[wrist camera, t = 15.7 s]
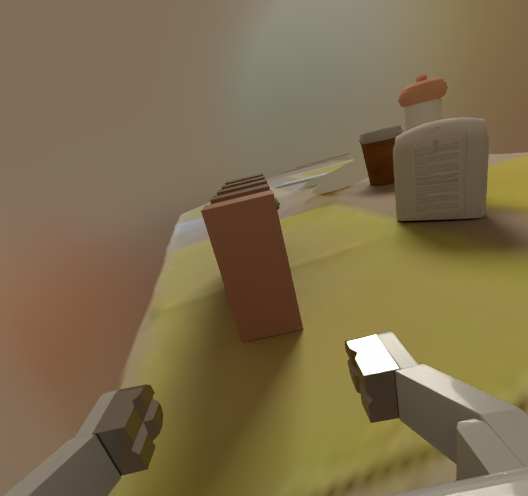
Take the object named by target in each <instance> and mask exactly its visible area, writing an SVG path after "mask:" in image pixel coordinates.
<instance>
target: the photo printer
mask: <svg viewBox="0 0 528 496" xmlns="http://www.w3.org/2000/svg"><path fill="white" fill-rule="evenodd" d="M488 155H489V135H488V129H487V127H486V126H485V120H484V119H479V118H450V119H443V120H437V121H433V122H429V123H426V124H423V125H420V126H417V127H415V128H412V129H410V130H408V131H406V132H404V133H402V134H400V135H398V136H397V137H396V138H395V145H394V148H393V164H394V181H395V199H396V216H397V219H398V220H399V221H416V220H443V219H468V218H481V217H483V216H484V215H485V211H486V193H487V172H488Z"/></svg>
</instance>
